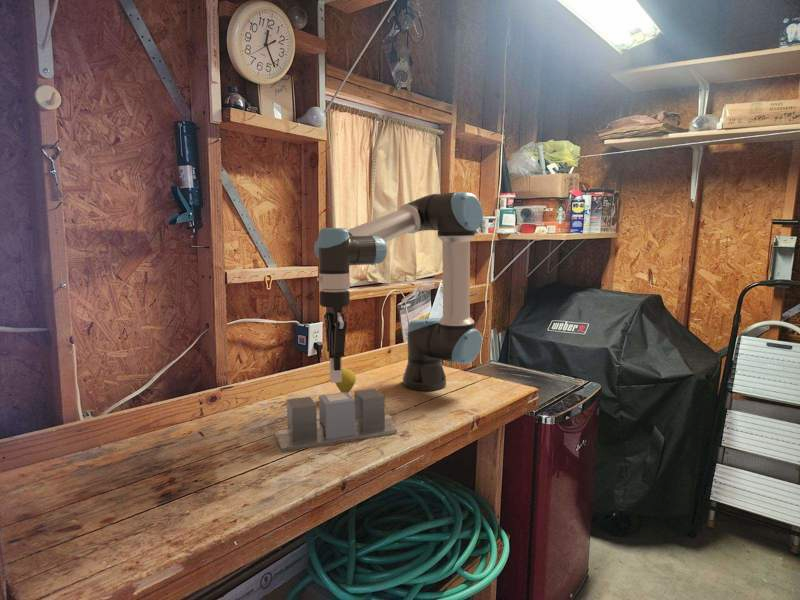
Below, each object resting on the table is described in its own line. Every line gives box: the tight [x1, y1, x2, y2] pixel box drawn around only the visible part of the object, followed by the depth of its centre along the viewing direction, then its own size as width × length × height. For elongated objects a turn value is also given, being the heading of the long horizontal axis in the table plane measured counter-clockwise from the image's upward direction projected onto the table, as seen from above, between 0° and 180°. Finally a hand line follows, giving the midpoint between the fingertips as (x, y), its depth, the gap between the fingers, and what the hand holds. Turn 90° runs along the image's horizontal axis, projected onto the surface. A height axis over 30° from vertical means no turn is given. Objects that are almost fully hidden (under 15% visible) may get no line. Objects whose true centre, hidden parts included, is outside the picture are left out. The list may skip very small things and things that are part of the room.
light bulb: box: [334, 368, 357, 396], centre depth 156 cm, size 7×7×10 cm
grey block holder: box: [274, 388, 398, 453], centre depth 129 cm, size 30×10×10 cm, turn 113°
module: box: [318, 392, 355, 439], centre depth 129 cm, size 8×7×9 cm
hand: (335, 381), depth 127 cm, fingers closed
